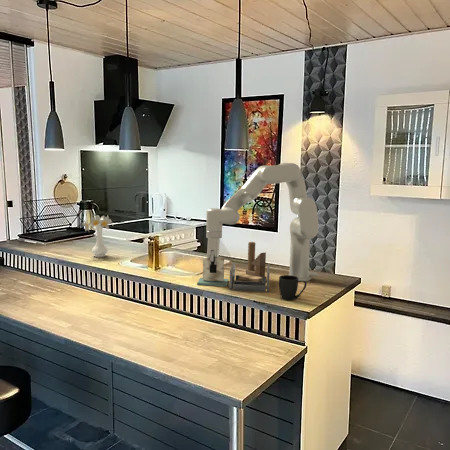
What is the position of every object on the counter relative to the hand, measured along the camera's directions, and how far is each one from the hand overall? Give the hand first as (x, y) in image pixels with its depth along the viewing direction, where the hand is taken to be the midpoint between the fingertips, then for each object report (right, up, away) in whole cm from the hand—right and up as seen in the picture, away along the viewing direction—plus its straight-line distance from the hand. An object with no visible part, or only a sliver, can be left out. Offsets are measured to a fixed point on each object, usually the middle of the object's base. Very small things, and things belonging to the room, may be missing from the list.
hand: (213, 271), depth 215 cm
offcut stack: (+18, -6, +1) cm, 19 cm away
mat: (0, -5, +1) cm, 6 cm away
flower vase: (-70, +3, +53) cm, 88 cm away
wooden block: (+21, -5, +12) cm, 24 cm away
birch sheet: (0, -4, +1) cm, 4 cm away
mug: (+35, -10, -22) cm, 42 cm away
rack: (+18, -6, -3) cm, 19 cm away
